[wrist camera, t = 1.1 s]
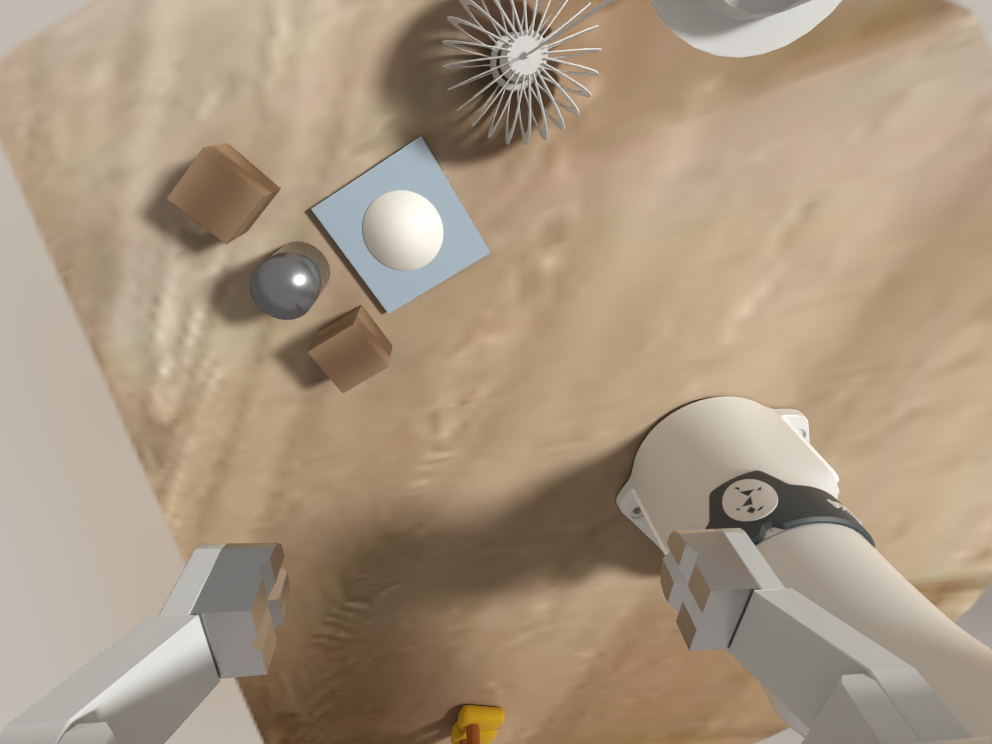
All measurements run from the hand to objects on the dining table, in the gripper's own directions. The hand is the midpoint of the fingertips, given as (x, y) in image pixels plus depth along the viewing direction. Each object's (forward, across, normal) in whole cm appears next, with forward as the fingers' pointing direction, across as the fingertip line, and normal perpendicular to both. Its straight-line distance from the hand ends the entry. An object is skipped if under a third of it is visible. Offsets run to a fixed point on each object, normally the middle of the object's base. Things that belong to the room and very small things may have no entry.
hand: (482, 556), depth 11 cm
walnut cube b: (+30, +15, -2) cm, 34 cm away
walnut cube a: (+30, +8, +9) cm, 32 cm away
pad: (+30, +4, 0) cm, 30 cm away
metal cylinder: (+30, +11, +3) cm, 32 cm away
